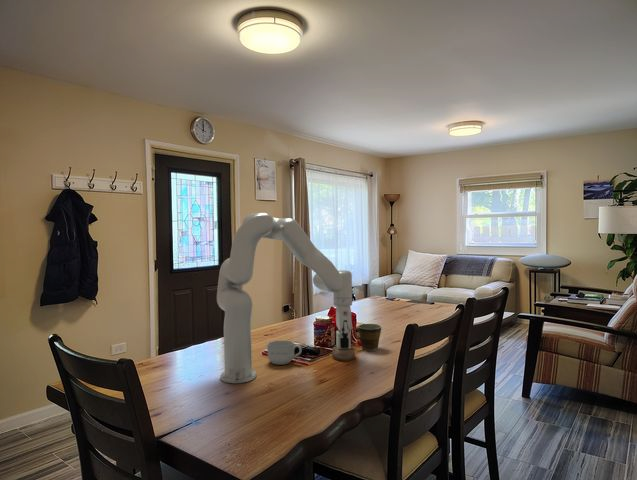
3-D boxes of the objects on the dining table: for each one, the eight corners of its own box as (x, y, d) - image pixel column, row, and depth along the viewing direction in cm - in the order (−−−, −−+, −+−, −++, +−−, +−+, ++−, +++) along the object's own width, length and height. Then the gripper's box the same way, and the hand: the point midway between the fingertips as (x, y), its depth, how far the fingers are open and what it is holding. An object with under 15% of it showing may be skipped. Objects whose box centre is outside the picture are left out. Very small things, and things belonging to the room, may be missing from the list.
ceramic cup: (381, 346, 186) (380, 323, 186) (382, 353, 176) (382, 329, 176) (351, 345, 187) (351, 323, 187) (351, 352, 178) (350, 329, 177)
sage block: (350, 348, 169) (350, 333, 169) (338, 348, 168) (338, 333, 168) (348, 344, 174) (348, 330, 174) (336, 345, 173) (336, 330, 173)
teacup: (261, 364, 164) (261, 344, 163) (277, 356, 173) (277, 337, 173) (292, 370, 157) (292, 348, 157) (306, 361, 167) (306, 341, 166)
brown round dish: (356, 360, 167) (356, 351, 167) (334, 361, 166) (334, 352, 166) (352, 353, 176) (352, 344, 176) (330, 354, 175) (330, 345, 175)
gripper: (356, 304, 162) (356, 351, 163) (347, 297, 179) (348, 339, 180) (337, 305, 161) (337, 352, 162) (330, 298, 178) (330, 340, 179)
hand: (343, 345), depth 171 cm, fingers closed on sage block, 4 cm apart
